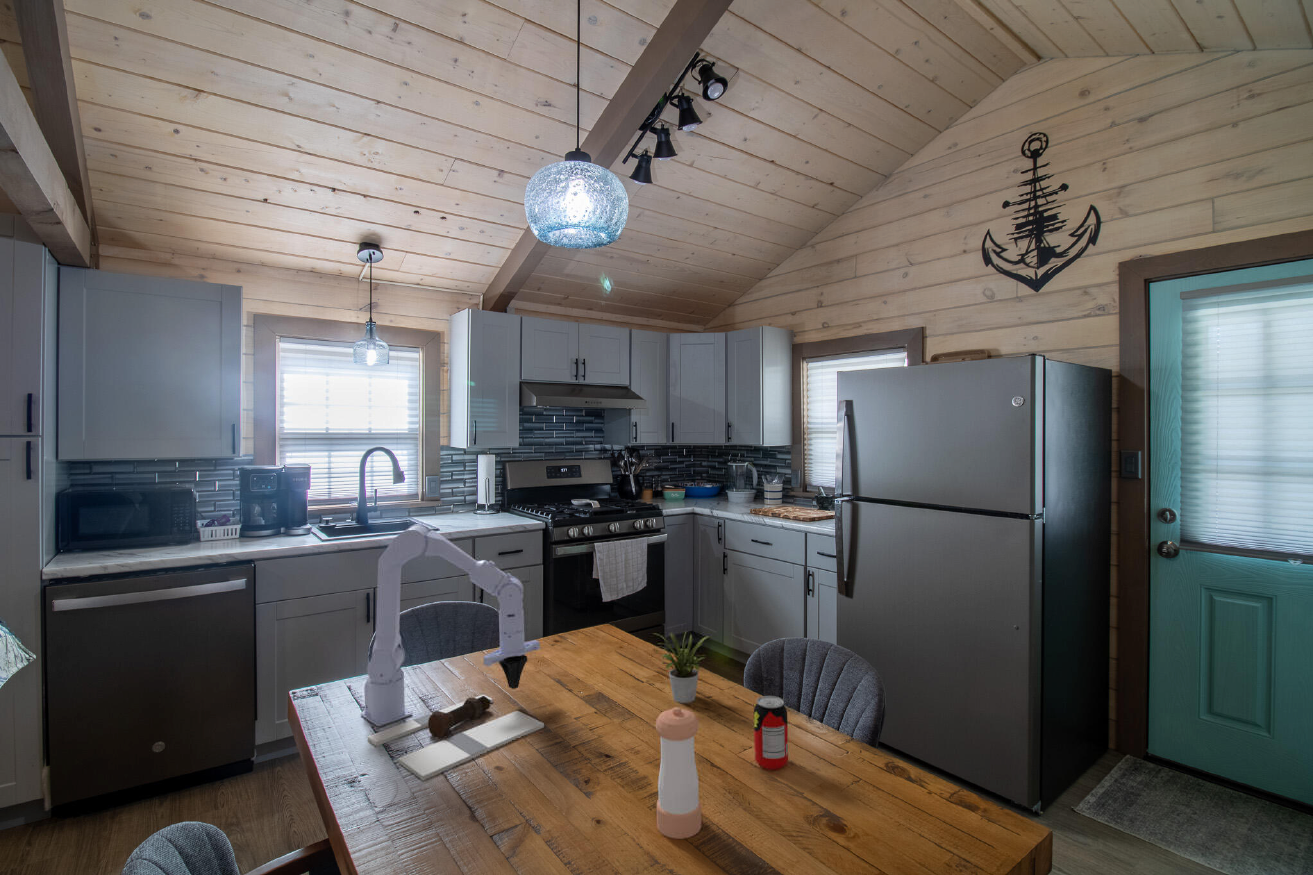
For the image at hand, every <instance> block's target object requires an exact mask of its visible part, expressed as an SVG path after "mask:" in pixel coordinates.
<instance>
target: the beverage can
mask: <svg viewBox="0 0 1313 875" xmlns="http://www.w3.org/2000/svg"><path fill="white" fill-rule="evenodd" d="M753 727H754V728H753V729H754V730H753V734H754V735H753V736H754V738H753V740H754V744H753V745H754V759H755V761H756V763H757V764H758V765H759V766H760V767H762V768H763V769H766V770H771V771H776V770H780V769H782V768H783V767H785V766H786V765H787V764H788V761H789V741H788V740H789V736H788V735H789V734H788V710H787V708H786V706H785V702H784V700H783V699H782V698H781V697H779V696H775V695H763V696H759V697H758V698H757V699H756V704H755V706H754V708H753Z"/></svg>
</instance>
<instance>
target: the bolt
mask: <svg viewBox="0 0 1313 875" xmlns="http://www.w3.org/2000/svg"><path fill="white" fill-rule="evenodd" d="M463 702H464V701H463ZM490 707H491V701H490V700H489V699H488V698H486V697H485V696H482V697H480V698H478V699H477V698H475V697H468V698H466V699H465V702H464V704H463V706H461V707H458V708H456V709H454V710H452V711H450V712H448V713H444V712H440V711H439V710H435V711H433V712H432V714H431V713H430V714H431V716H430V718H429V720H428V727H427V728H428V731H429V733H430V734H431V736H432V737H433V736H434V738H436V739H442V738H443V739H446V738H447V736H448V735H449V732H451V731H450V730H451V729H452V728H453V727H455V726H457V725H459V724H461V723H464V722H465V721H468V720H469V721H470V720H471V721H476V720H478V719H479V718H480V717H481V715H482V714H483V712H485V711H487V710H489V709H490Z"/></svg>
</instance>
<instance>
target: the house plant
mask: <svg viewBox="0 0 1313 875" xmlns="http://www.w3.org/2000/svg"><path fill="white" fill-rule="evenodd" d="M687 631H688V630H685V633H684V636H683V640H682V647H680V645H679V643H678V641H677V638H676V635H674V634H673V632H670V633H669V636H670V637H671V638H670V639H671V640H672V643H673V644H674V647H675V649H676V651H675V650H674V648H673V647H672V646H671V644H670V643H669V641H668V640H667V639H666V638H665V636H663V635H661V634H658V633H652V634H654V635H656V636H659V637H661V638H662V639H663V640H664V641H665V643H664V645H665V646H667V648H669V649H670V651H671V652H672V653H673V656H674V657H675V659H674V657H673V656H672V654H671V653H670V651H669V650H668V649H667V648H665V647H664V646H657V648H663V649H664V650H665V651H666V652H667V653H663V655H662V656H661V657H662V658H664V659H665V660H668V661H670V662H666V661H664V660H661V661H658V662H659V663H660V662H661V663H663V662H664V663H666V666H665V670H668V669H670V667H671V668H672V669H671V670H669V671H668V676H669V681H670V686H671V692H672V697H673V701H674V702H676V703H680V704H688V703H693V702H694V701H695V700H696V693H697V687H698V679H699V670H700V665H699V663H698V662H700V661H701V660H703V659H704V657H707V655H706V654H705V655H704V654H696V655H694V654H695V653H696V651H697V649H699V647H700V646H702V645H703V642H704V641H705V640H706V639H707V638H709V637H710V635H708V636H705V637H703V638H702V639H700V640H699V641H698V642H697V643H696V645H695V646H694V647H693V649H692V650H691V646H692V643H693V642H692V639H693V638H692V635H690V636H689V639H687V640H686V641H685V637H686V634H687ZM687 643H688V644H687ZM686 644H687V648H685V647H686ZM658 645H663V643H662V642H660V643H658ZM690 650H691V651H690Z"/></svg>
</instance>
